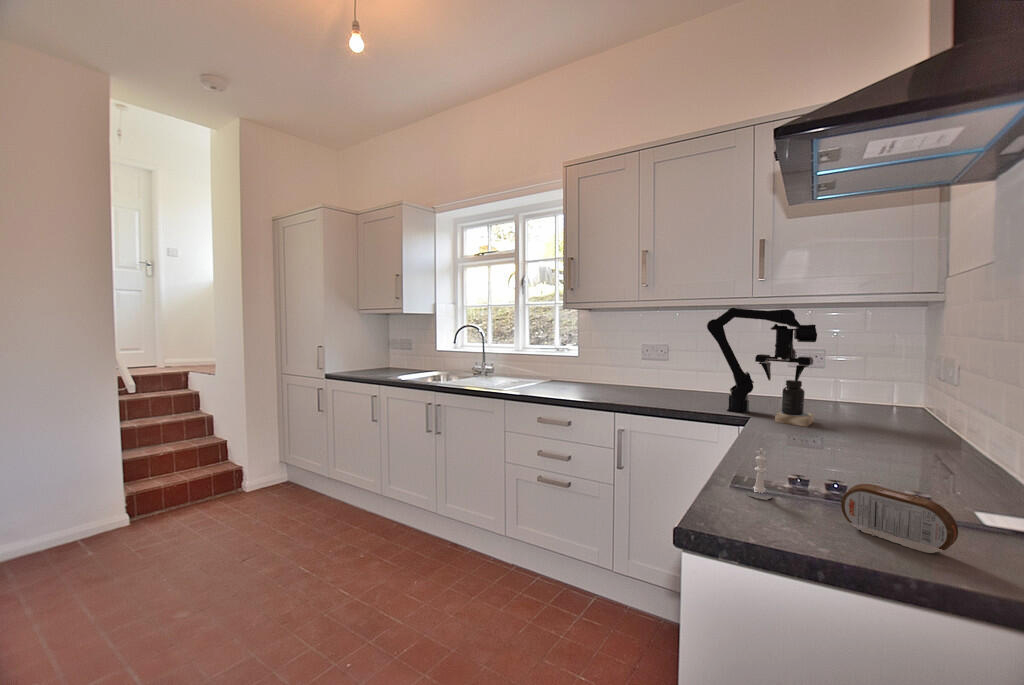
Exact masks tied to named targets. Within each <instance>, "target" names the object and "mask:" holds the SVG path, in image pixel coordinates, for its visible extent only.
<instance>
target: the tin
mask: <svg viewBox="0 0 1024 685" xmlns="http://www.w3.org/2000/svg"><path fill="white" fill-rule="evenodd" d="M840 505H841V506H840V508H841V512H842V514H843V517H844V519H845V520H847V521H846V522H848V523H849V522H850V523H853V524H858V525H862V526H865V527H868V528H871V529H874V530H878V531H882V532H884V533H888V534H891V535H893V536H896V537H899V538H902V539H906V540H910V541H914V542H917V543H923V544H926V545H930V546H933V547H936V548H939V549H942V550H944V551H946V550H947V549H949V548H950V547H951V546H952V545H954V543H955V542H957V539H958V537H959V528H958V524H957V522H956V520H955V518H954V517H953V515H952V514H951V513H950V512H949V511H948V510H947V509H946V508H945V507H943V506H942V505H941V504H939V503H937V502H935V501H934V500H930V499H927V498H925V497H920V496H916V495H913V494H910V493H905V492H901V491H898V490H894V489H890V488H886V487H882V486H878V485H876V484H871V483H861V484H860V483H859V484H856V485H853V486H852V487H850V488H849V489H848V490H847V491H846V492H845V493H844V494H843V496H842V498H841V502H840ZM850 523H849V524H850Z"/></svg>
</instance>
